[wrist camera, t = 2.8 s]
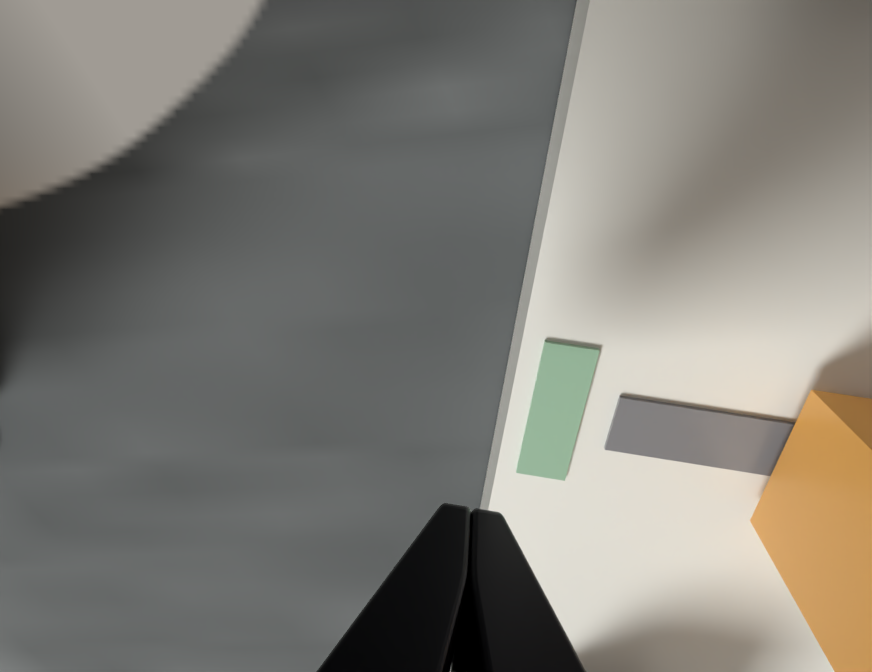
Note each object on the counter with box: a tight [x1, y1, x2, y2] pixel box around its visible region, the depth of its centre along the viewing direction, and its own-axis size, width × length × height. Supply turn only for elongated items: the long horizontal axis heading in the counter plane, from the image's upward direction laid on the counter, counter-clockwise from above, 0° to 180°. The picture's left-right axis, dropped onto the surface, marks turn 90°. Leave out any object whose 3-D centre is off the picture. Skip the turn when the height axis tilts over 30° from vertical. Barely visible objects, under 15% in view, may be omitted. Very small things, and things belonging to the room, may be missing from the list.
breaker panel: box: [450, 0, 872, 672], centre depth 11 cm, size 13×25×2 cm, turn 173°
